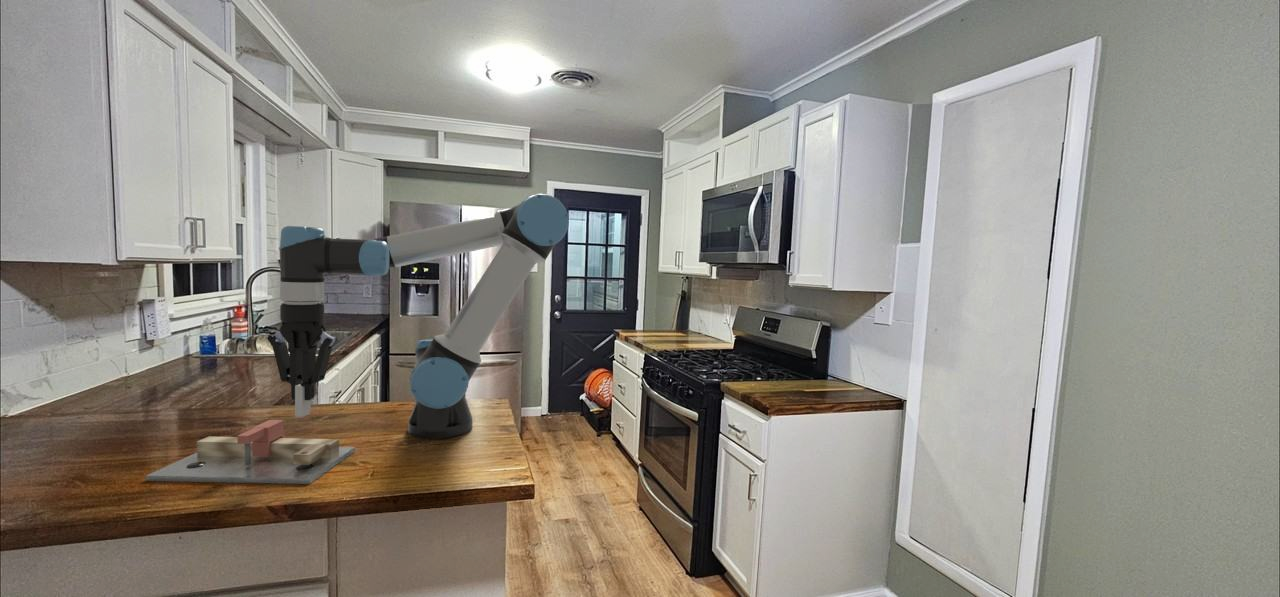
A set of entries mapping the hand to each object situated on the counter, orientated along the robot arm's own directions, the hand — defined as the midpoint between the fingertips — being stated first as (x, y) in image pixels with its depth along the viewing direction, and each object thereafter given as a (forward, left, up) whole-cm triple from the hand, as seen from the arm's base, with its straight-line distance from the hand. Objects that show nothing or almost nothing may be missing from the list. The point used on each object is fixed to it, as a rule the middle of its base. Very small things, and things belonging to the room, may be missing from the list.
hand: (303, 414), depth 105 cm
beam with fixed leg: (+7, +3, -9) cm, 12 cm away
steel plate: (+7, +3, -10) cm, 12 cm away
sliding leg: (+7, +2, -8) cm, 11 cm away
